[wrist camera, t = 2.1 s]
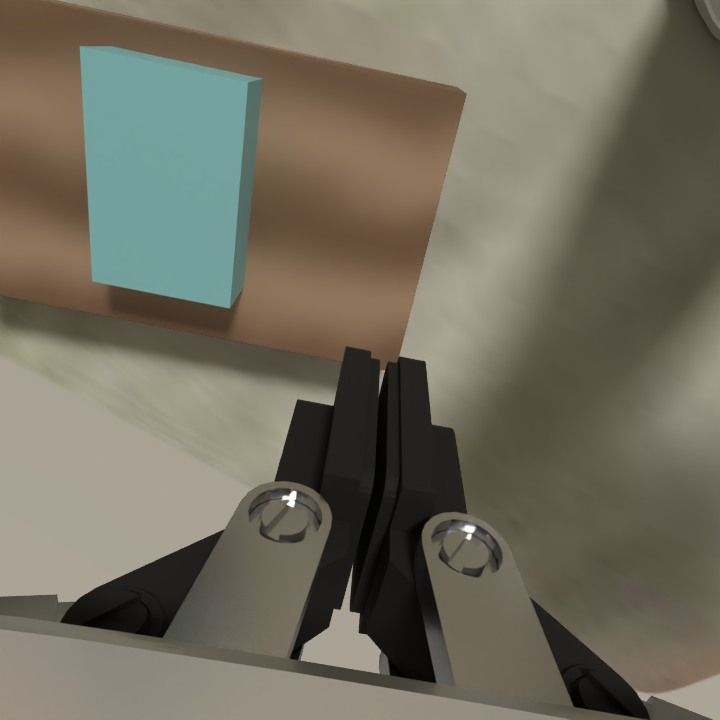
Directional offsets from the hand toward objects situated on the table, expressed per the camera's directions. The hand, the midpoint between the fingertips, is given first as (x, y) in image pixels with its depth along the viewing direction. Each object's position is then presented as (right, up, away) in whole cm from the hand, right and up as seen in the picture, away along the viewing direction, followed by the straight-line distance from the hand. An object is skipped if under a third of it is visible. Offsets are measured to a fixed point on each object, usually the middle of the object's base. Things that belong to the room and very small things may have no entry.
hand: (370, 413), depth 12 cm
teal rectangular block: (-8, +9, +12) cm, 17 cm away
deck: (-8, +10, +16) cm, 21 cm away
